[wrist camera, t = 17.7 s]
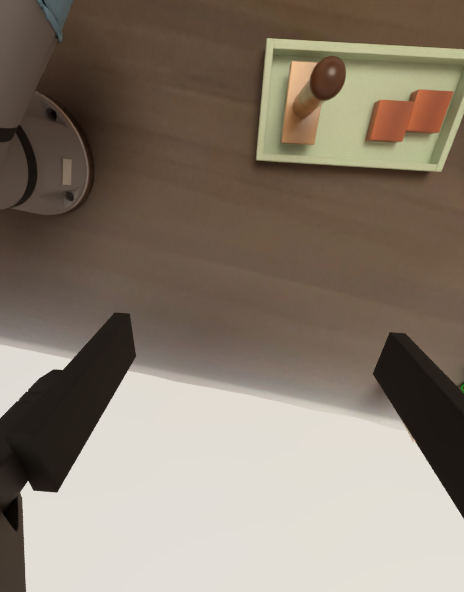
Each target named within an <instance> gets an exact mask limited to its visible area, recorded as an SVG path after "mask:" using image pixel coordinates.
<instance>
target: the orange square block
mask: <svg viewBox="0 0 464 592" xmlns="http://www.w3.org/2000/svg"><path fill="white" fill-rule="evenodd" d="M452 95H453V91H439V90H422V89H419V90H416V91H414V92H412V93H411V96H410V99H409V101H413V102H414V106H413V109H412V112H411V115H410V119H409V122H408V125H407V128H406V133H422V134H434V133H439V131H440V128H441V125H442V123H443V120H444V117H445V114H446V111H447V109H448V106H449V103H450V100H451V98H452Z"/></svg>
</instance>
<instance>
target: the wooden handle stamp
mask: <svg viewBox="0 0 464 592" xmlns="http://www.w3.org/2000/svg"><path fill="white" fill-rule="evenodd" d="M345 79H346V68H345V65H344V63H343V61H342V60H341V59H340V58H338V57H336V56H328V57H325V58H323V59H322V60H320V61H319V62H306V61H291V64H290V66H289V73H288V81H287V89H286V98H285V106H284V114H283V123H282V131H281V139H280V144H293V145H310V146H311V145H314V144H315V138H316V133H317V127H318V121H319V115H320V110H321V105H322V104H323V103H324V102H325V101H328V100H330V99H332V98H334V97H335V96H336V95H337V94H338V93H339V92H340V91H341V89H342V87H343V85H344V83H345Z"/></svg>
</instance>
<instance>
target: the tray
mask: <svg viewBox="0 0 464 592" xmlns="http://www.w3.org/2000/svg"><path fill="white" fill-rule="evenodd" d="M328 56H336V57H338V58H340V59H341V60H342V61H343V63H344V65H345V68H346V79H345V83H344V85H343V87H342V89H341V91H340V92H339V93H338V94H337V95H336V96H335V97H334V98H332V99H330V100H328V101H325V102H324V103H323V104H322V105H321V110H320V115H319V121H318V127H317V133H316V138H315V144H314V145H311V146H310V145H293V144H280V139H281V131H282V123H283V114H284V106H285V98H286V89H287V81H288V73H289V66H290V64H291V61H306V62H319V61H320V60H322V59H323V58H325V57H328ZM419 89H422V90H439V91H453V95H452V98H451V100H450V103H449V106H448V109H447V111H446V114H445V117H444V120H443V123H442V125H441V128H440V131H439V133H434V134H422V133H406V132H405V135H404V138H403V141H402V142H397V143H392V142H376V141H365V139H366V135H367V131H368V127H369V123H370V119H371V115H372V111H373V107H374V103H375V102H377V101H379V100H396V101H409V99H410V96H411V93H412V92H414V91H416V90H419ZM463 114H464V49H446V48H429V47H411V46H393V45H376V44H358V43H340V42H323V41H305V40H287V39H270V38H267V42H266V47H265V58H264V70H263V81H262V93H261V104H260V115H259V127H258V138H257V150H256V161H270V162H286V163H302V164H317V165H333V166H349V167H365V168H381V169H397V170H413V171H428V172H441V171H442V169H443V166H444V163H445V161H446V158H447V156H448V153H449V150H450V148H451V145H452V143H453V140H454V138H455V135H456V132H457V130H458V127H459V125H460V122H461V119H462V117H463Z"/></svg>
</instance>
